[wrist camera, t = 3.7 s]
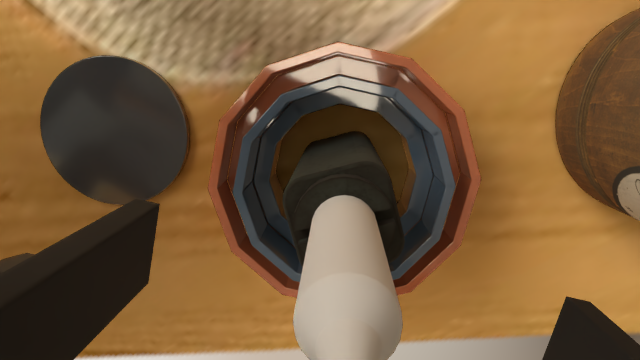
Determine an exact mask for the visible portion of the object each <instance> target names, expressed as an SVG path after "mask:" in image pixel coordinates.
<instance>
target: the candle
mask: <svg viewBox="0 0 640 360" xmlns="http://www.w3.org/2000/svg"><path fill="white" fill-rule="evenodd" d="M282 202H283V208H284V211H285V215H286V218H287V221H288V225H289V228H290V232H291V235H292V238H293V242H294V245H295V249H296V252H297V256H298V259H299V262H300V264H301V266H302V267H303V269H302V274H301V280H300V285H299V290H298V295H297V300H296V305H295V311H294V318H293V325H294V331H295V337H296V340H297V342H298V344H299V346H300V348H301V350H302V351H303V353H304V354H305V355H306V356H307V357H308V358H309V359H310V360H387V359H388V358H389V357H390V356H391V355H392V354H393V353H394V351H395V349H396V347H397V345H398V343H399V341H400V337H401V332H402V326H403V322H402V312H401V308H400V304H399V301H398V297H397V294H396V290H395V286H394V283H393V279H392V275H391V272H390V268H389V265H388V264H389V263H391V262H393V261H394V260H396V259H397V258H398V257H399V255H400V254H401V252H402V250H403V248H404V243H405V239H404V233H403V229H402V224H401V220H400V216H399V212H398V207H397V203H396V199H395V195H394V191H393V186H392V182H391V179H390V176H389V174H388V172H387V170H386V168H385V167H384V165H383V163H382V161H381V159H380V158H379V156H378V154H377V152H376V150H375V148H374V147H373V145H372V143H371V141H370V139H369V138H368V137H367V136H366V135H365V134H364V133H361V132H358V131H353V132H348V133H344V134H341V135H337V136H333V137H329V138H325V139H321V140H317V141H314V142H312V143H310V144H309V145H308V146H307V147H306V149H305V151H304V153H303V155H302V157H301V159H300V161H299V163H298V165H297V167H296V169H295V170H294V172H293V174H292V176H291V178H290V180H289V182H288V184H287V186H286V188H285V191H284V193H283V199H282Z"/></svg>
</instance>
